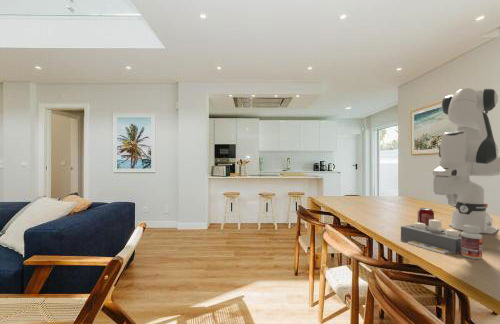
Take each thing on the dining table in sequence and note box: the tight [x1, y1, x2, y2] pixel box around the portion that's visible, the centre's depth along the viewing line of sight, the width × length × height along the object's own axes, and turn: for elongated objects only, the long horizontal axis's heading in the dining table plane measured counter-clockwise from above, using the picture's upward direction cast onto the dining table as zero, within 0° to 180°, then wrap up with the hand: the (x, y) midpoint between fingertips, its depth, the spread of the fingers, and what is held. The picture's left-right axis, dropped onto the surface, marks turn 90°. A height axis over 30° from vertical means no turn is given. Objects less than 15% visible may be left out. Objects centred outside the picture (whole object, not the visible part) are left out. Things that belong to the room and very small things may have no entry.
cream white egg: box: [429, 219, 442, 233], centre depth 114 cm, size 4×4×6 cm
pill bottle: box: [460, 225, 483, 260], centre depth 99 cm, size 6×6×11 cm
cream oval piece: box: [413, 221, 425, 229], centre depth 120 cm, size 4×4×6 cm
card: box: [407, 241, 450, 255], centre depth 108 cm, size 4×14×1 cm, turn 26°
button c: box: [444, 228, 460, 237], centre depth 108 cm, size 4×4×6 cm
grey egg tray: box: [400, 223, 462, 255], centre depth 114 cm, size 13×22×6 cm, turn 26°
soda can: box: [417, 207, 435, 226], centre depth 131 cm, size 7×7×12 cm
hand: (452, 204), depth 108 cm, fingers closed
